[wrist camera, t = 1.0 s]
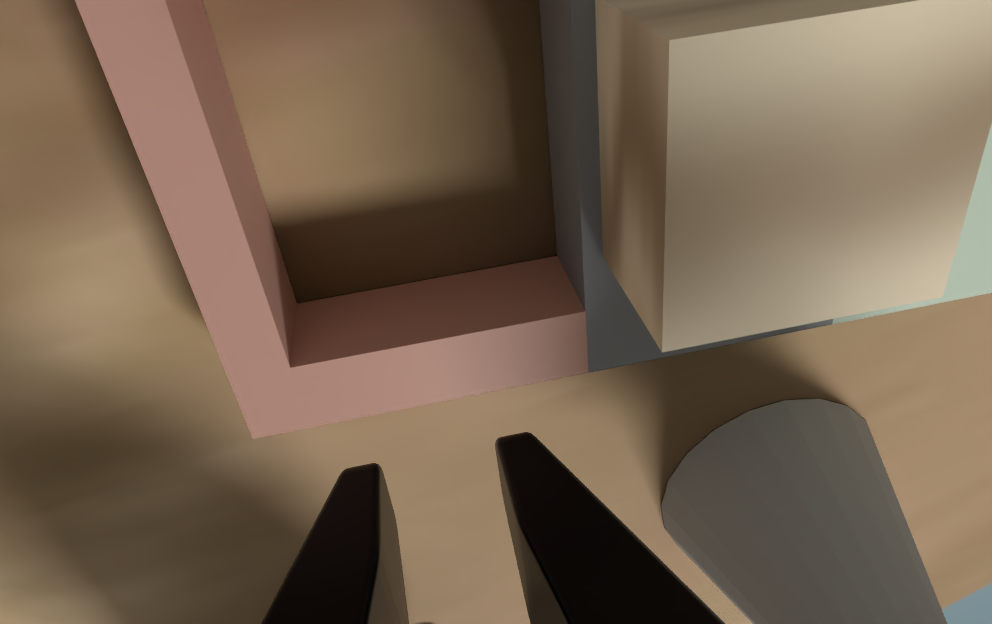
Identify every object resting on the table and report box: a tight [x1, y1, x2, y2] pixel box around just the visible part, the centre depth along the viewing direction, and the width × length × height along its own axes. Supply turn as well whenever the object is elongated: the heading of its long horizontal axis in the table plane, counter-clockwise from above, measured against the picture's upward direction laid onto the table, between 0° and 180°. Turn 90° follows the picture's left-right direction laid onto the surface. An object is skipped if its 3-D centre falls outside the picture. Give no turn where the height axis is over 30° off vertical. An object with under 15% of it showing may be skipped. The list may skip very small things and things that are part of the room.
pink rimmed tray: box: [75, 0, 992, 439], centre depth 18 cm, size 13×34×3 cm, turn 96°
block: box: [595, 0, 992, 352], centre depth 15 cm, size 6×6×4 cm
